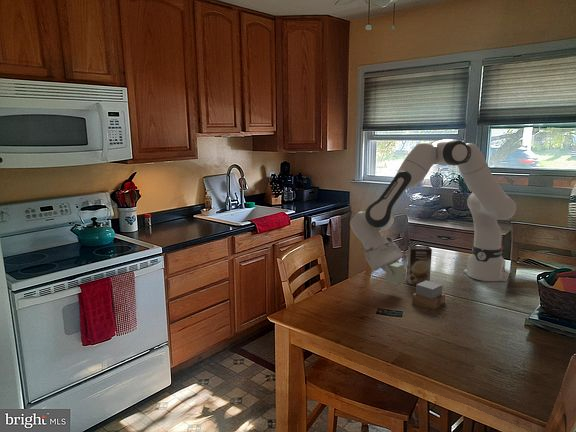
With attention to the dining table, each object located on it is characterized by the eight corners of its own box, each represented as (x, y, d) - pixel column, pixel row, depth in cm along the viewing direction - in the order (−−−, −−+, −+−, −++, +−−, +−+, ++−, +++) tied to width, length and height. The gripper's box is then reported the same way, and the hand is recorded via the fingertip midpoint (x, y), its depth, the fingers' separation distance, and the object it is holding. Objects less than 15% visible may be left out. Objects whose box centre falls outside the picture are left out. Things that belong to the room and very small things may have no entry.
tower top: (425, 289, 164) (426, 280, 163) (441, 294, 158) (442, 284, 158) (415, 294, 159) (416, 284, 158) (432, 299, 154) (432, 289, 153)
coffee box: (408, 284, 180) (410, 249, 177) (406, 279, 186) (407, 245, 183) (430, 284, 179) (432, 249, 176) (426, 279, 185) (428, 245, 182)
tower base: (423, 297, 166) (423, 288, 165) (444, 303, 160) (445, 294, 159) (412, 303, 160) (412, 294, 159) (433, 310, 154) (434, 300, 153)
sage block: (392, 279, 173) (393, 261, 171) (403, 282, 169) (403, 263, 168) (386, 282, 169) (386, 264, 168) (397, 285, 166) (397, 266, 164)
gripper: (366, 246, 164) (387, 275, 159) (393, 237, 178) (413, 262, 173) (357, 255, 168) (377, 283, 163) (384, 245, 182) (403, 270, 177)
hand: (396, 272), depth 168 cm, fingers closed on sage block, 5 cm apart
